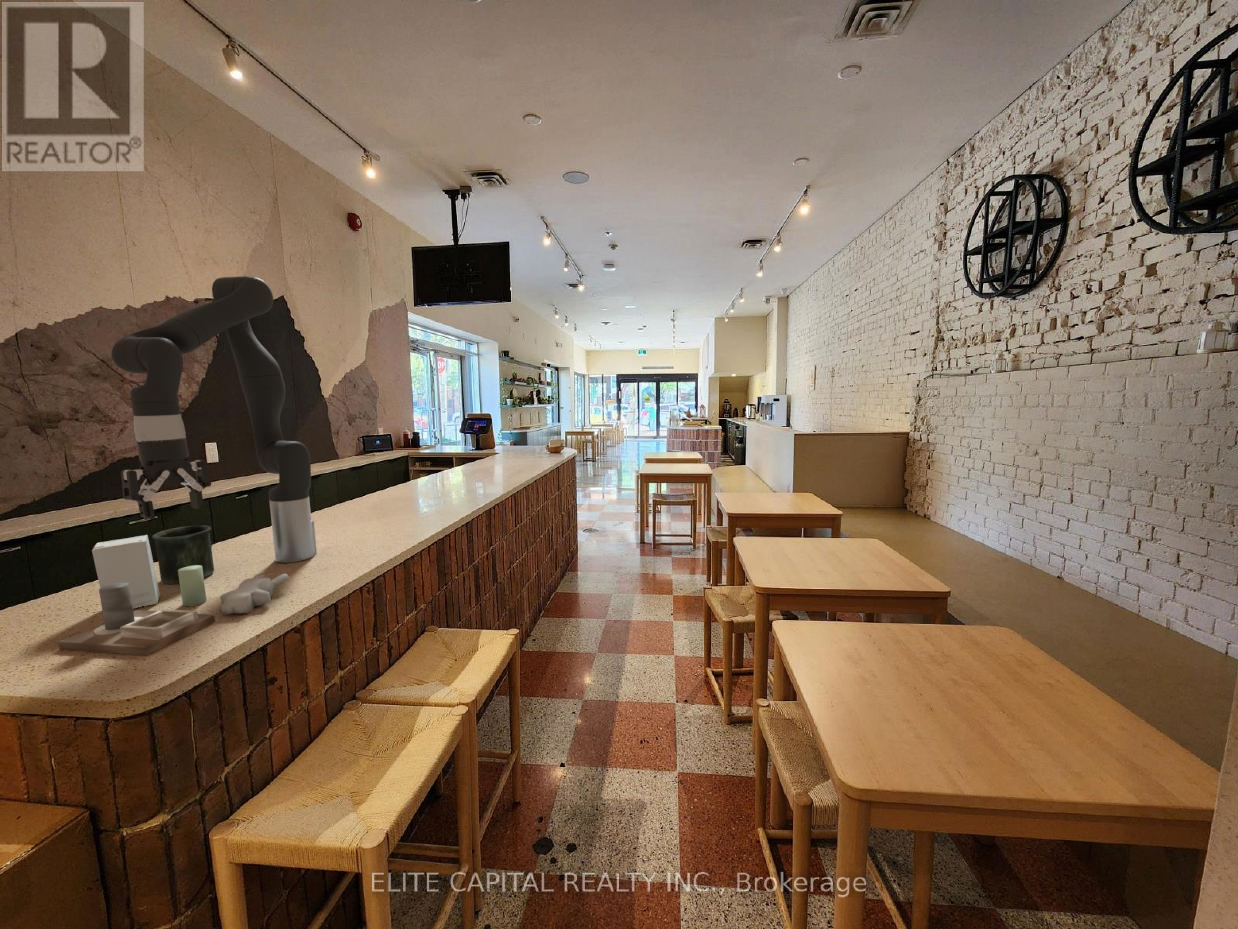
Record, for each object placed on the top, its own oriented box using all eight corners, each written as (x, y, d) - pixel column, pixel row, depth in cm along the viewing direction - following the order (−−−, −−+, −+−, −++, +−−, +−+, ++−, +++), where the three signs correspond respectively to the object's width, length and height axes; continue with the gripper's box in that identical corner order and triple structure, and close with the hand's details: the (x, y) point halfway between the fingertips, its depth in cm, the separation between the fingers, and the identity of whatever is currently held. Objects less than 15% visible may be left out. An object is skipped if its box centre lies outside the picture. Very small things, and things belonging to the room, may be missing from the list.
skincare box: (160, 596, 111) (151, 533, 108) (157, 605, 106) (147, 540, 104) (107, 606, 105) (96, 540, 103) (102, 616, 101) (91, 547, 98)
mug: (146, 587, 116) (139, 539, 114) (189, 566, 130) (183, 522, 128) (197, 584, 118) (190, 536, 116) (234, 563, 132) (229, 521, 130)
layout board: (138, 616, 100) (131, 573, 99) (215, 621, 98) (209, 577, 97) (59, 649, 88) (50, 599, 86) (146, 655, 85) (138, 605, 84)
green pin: (195, 598, 109) (191, 564, 108) (211, 599, 109) (207, 565, 108) (177, 606, 105) (172, 571, 104) (193, 607, 105) (189, 572, 104)
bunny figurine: (204, 601, 99) (249, 567, 113) (209, 623, 100) (253, 587, 115) (254, 599, 100) (292, 565, 114) (259, 620, 101) (296, 585, 116)
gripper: (188, 433, 107) (199, 504, 110) (104, 440, 94) (119, 521, 96) (212, 434, 105) (222, 506, 107) (129, 441, 91) (144, 524, 94)
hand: (173, 513), depth 102 cm, fingers open, 8 cm apart
